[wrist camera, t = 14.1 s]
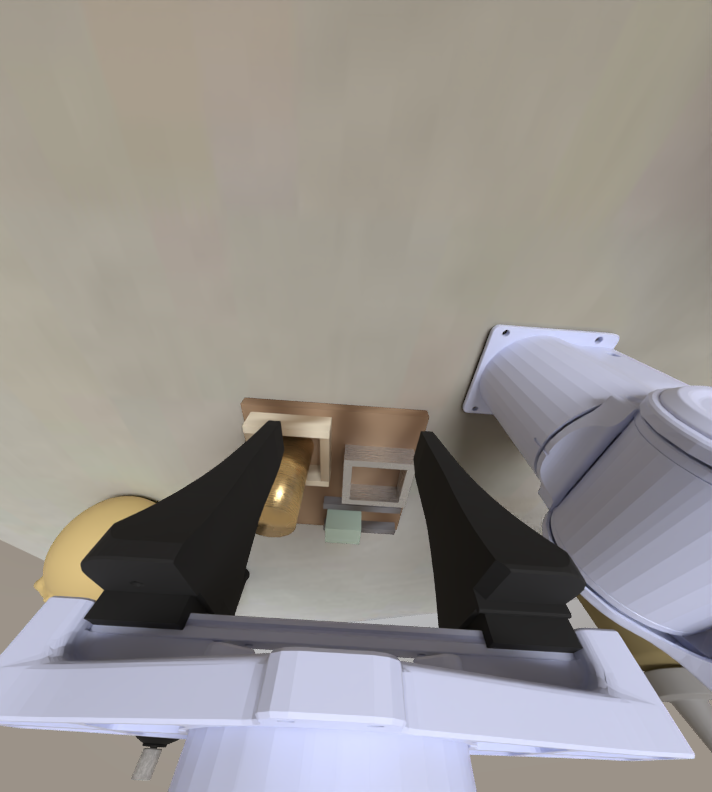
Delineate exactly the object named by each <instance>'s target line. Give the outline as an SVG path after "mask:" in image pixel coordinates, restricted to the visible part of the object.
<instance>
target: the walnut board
mask: <svg viewBox="0 0 712 792" xmlns="http://www.w3.org/2000/svg"><path fill="white" fill-rule="evenodd" d="M241 408H242V413H243V417H244V421H245V420H246V419H247V417H248V416H249V414H250V412H263V413H277V414H291V415H305V416H320V417H332V437H331V474H330V481H329V487H323V486H308V485H305V489H304V493H303V497H302V502H301V506H300V510H299V515H298V519H297V523H298V524H313V525H324V530H325V525H326V518H327V510H328V509H333V510H348V511H361V532H363V533H378V534H394V533H395V530H397V526H398V523H399V519H400V516H401V512H402V509H403V508H400V507H385V506H370V505H355V504H342V488H343V471H344V456H345V445H360V446H375V447H389V448H403V449H414V453H415V450H416V447H417V443H418V440H419V436H420V433H421V431H425V430H426V426H427V423H428V420H429V415H428V412H427V411H425V410H411V409H397V408H383V407H369V406H355V405H341V404H327V403H312V402H298V401H284V400H270V399H256V398H244V400H243V401H242V403H241ZM311 439H312V441H313V443H314V450H313V454H312V459H311V463H310V465H320V438H311ZM399 474H400V470H398V469H384V468H369V467H354V466H352V475H351V484H363V485H378V486H392V487H396V486H397V482H398V478H399Z"/></svg>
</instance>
